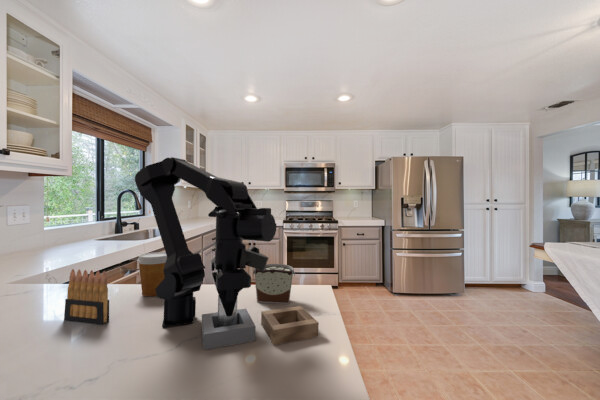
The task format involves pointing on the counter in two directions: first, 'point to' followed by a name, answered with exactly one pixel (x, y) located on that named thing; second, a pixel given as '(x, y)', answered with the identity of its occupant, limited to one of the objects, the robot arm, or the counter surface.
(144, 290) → the disposable coffee cup
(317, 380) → the counter surface
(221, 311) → the pin
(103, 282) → the ammunition clip
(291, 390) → the counter surface
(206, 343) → the socket block
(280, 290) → the food container
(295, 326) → the block
